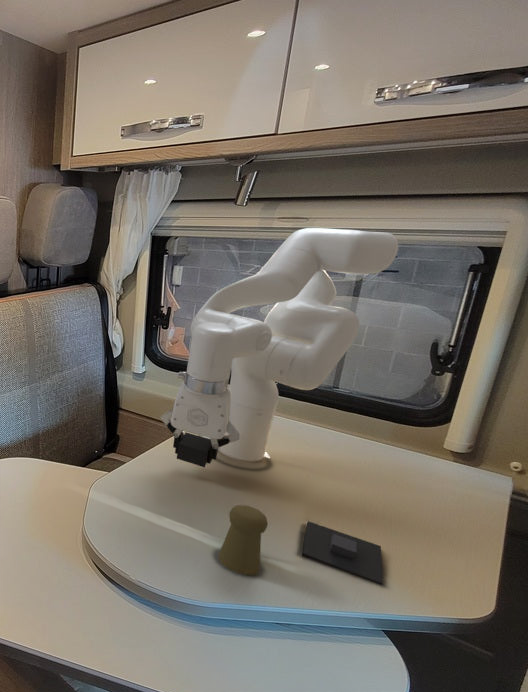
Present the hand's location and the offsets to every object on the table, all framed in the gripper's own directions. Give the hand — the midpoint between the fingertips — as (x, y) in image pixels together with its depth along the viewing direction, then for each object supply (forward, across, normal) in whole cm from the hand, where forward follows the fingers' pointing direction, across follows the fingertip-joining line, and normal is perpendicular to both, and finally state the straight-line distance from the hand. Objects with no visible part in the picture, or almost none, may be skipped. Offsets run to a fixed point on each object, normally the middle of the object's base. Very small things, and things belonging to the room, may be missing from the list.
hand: (193, 454), depth 100 cm
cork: (+4, +13, -24) cm, 27 cm away
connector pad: (0, 0, 0) cm, 0 cm away
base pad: (+5, +26, -10) cm, 28 cm away
